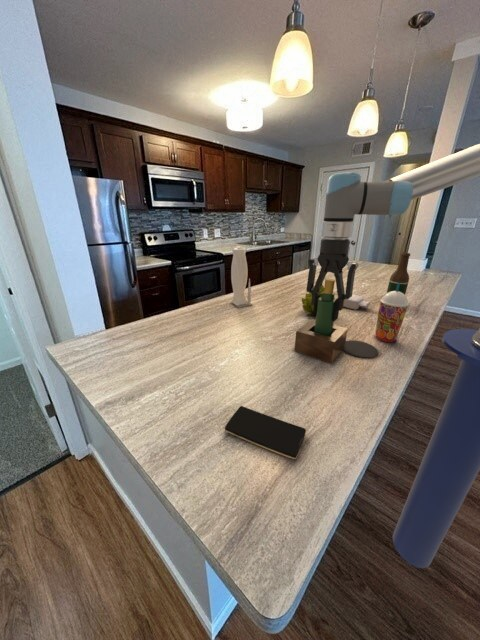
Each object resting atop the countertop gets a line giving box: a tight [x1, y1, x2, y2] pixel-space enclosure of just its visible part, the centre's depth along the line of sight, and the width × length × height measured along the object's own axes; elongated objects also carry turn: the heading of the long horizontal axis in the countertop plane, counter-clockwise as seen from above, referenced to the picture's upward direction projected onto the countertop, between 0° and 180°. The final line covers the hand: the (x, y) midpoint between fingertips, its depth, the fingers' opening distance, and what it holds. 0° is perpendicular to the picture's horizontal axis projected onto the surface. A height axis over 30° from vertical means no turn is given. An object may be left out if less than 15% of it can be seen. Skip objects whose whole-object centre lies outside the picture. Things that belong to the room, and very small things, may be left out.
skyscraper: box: [230, 243, 253, 309], centre depth 119 cm, size 8×8×28 cm
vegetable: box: [301, 284, 325, 317], centre depth 112 cm, size 15×16×15 cm
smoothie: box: [374, 283, 410, 343], centre depth 88 cm, size 8×8×20 cm
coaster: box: [342, 340, 379, 359], centre depth 84 cm, size 11×11×1 cm
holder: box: [293, 318, 349, 364], centre depth 83 cm, size 12×12×7 cm
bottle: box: [314, 278, 336, 336], centre depth 79 cm, size 5×5×20 cm
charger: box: [335, 293, 374, 311], centre depth 121 cm, size 5×9×15 cm
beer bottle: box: [386, 252, 411, 296], centre depth 123 cm, size 8×8×24 cm
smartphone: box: [224, 405, 307, 460], centre depth 52 cm, size 7×1×15 cm
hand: (325, 317), depth 80 cm, fingers closed on bottle, 5 cm apart
